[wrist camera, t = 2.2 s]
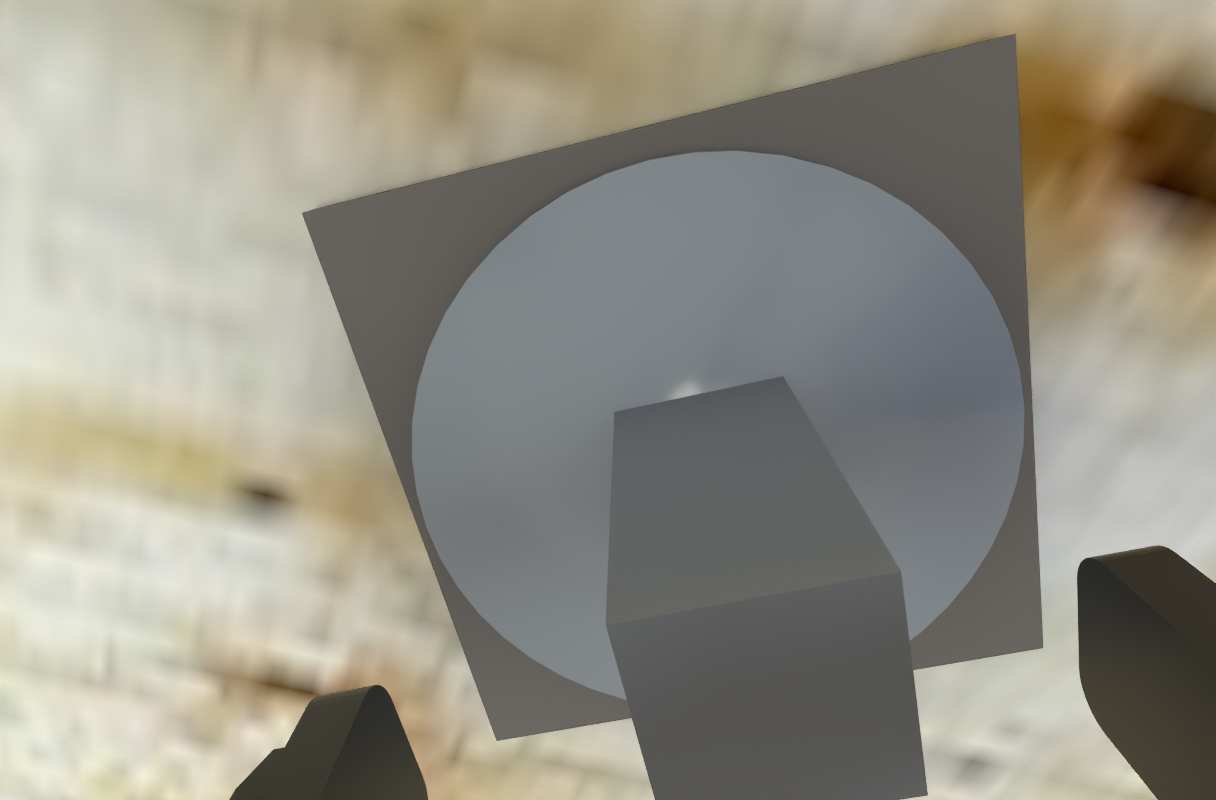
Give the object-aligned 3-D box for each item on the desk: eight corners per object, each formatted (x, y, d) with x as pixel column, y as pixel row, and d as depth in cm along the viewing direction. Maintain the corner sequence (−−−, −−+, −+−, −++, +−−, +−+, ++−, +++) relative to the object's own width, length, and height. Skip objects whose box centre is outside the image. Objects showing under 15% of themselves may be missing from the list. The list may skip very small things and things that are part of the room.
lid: (984, 76, 12) (1385, 30, 6) (1017, 632, 16) (1282, 982, 9) (340, 234, 13) (72, 343, 7) (511, 719, 17) (442, 1083, 11)
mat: (997, 38, 12) (1015, 34, 12) (1028, 629, 16) (1043, 648, 16) (314, 209, 14) (301, 213, 13) (500, 720, 18) (496, 740, 17)
